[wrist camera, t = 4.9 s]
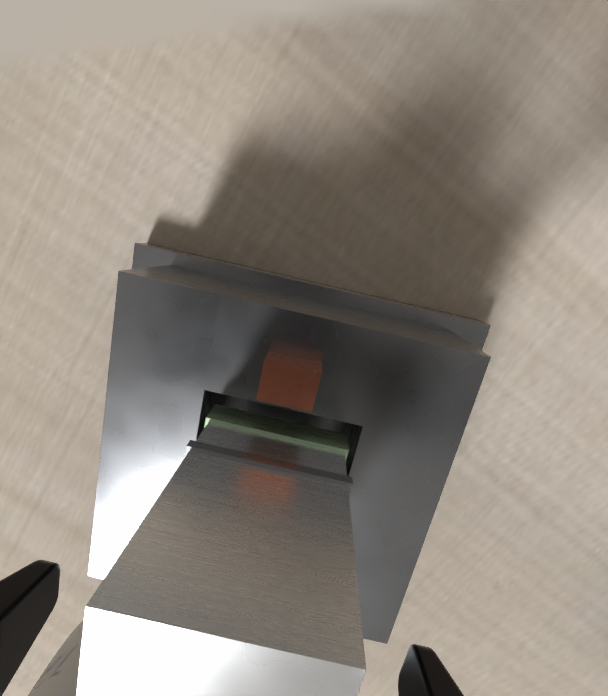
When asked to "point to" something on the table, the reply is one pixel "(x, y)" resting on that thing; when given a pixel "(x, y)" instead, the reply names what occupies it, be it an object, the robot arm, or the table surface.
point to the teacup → (62, 669)
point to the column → (236, 573)
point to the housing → (286, 398)
